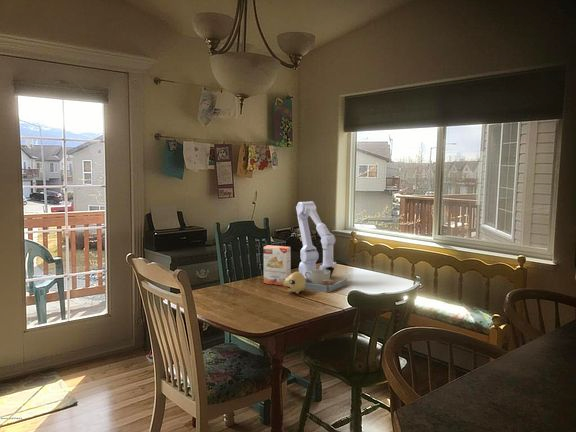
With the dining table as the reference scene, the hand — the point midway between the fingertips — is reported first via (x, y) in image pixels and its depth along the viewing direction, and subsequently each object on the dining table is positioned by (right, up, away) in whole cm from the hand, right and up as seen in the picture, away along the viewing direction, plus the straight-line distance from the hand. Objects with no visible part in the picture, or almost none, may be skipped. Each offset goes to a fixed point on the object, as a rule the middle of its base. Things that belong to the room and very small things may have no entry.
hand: (328, 280), depth 255 cm
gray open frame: (-4, -2, -7) cm, 8 cm away
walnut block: (-1, -3, -15) cm, 15 cm away
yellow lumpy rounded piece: (-19, -4, -21) cm, 28 cm away
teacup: (-6, -2, -6) cm, 8 cm away
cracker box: (-28, -2, -3) cm, 28 cm away
